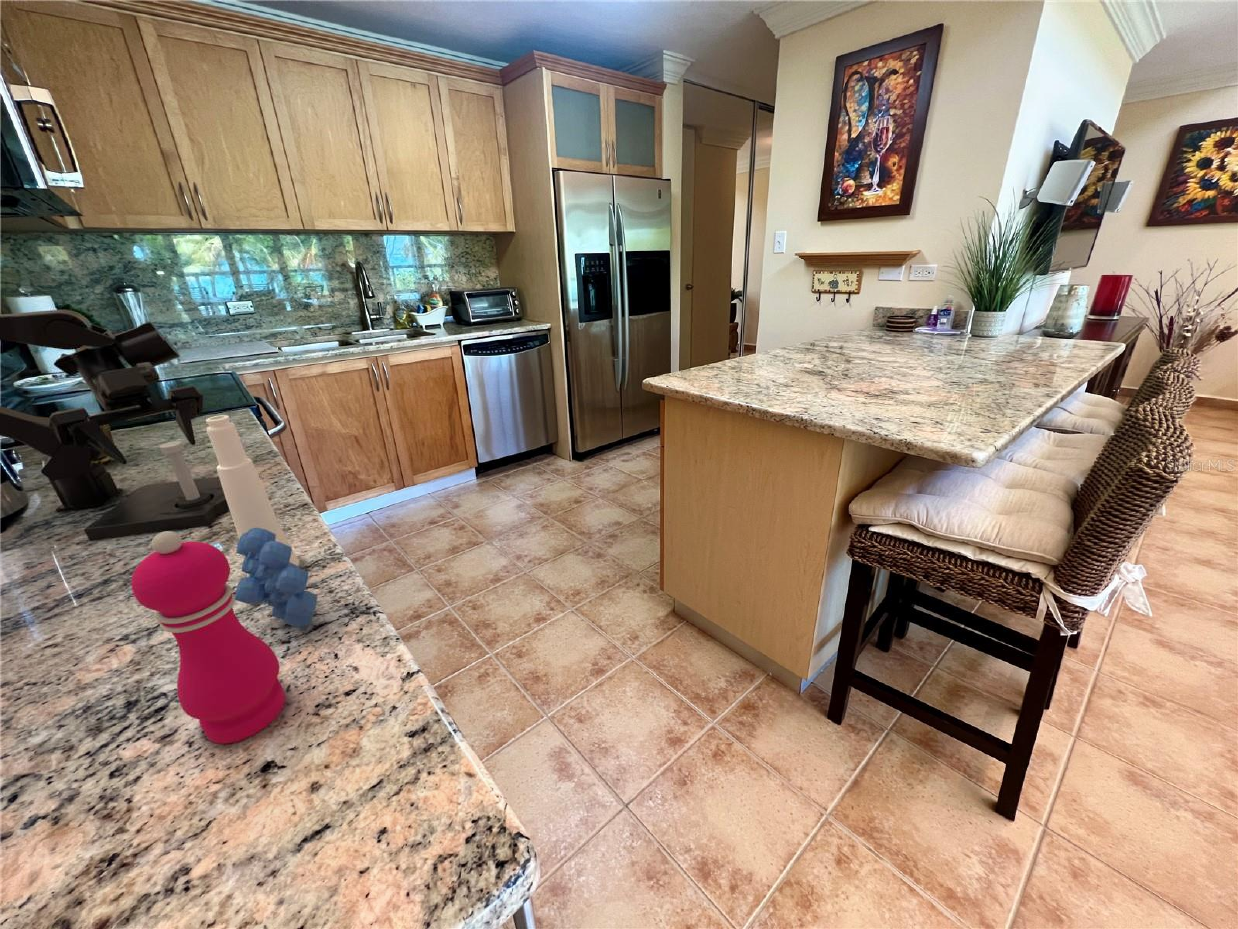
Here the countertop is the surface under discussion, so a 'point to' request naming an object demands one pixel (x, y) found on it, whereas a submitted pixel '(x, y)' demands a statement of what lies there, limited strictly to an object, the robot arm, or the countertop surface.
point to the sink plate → (159, 510)
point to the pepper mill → (209, 639)
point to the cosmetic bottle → (242, 483)
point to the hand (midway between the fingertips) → (161, 452)
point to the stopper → (184, 476)
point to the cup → (102, 457)
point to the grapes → (274, 578)
